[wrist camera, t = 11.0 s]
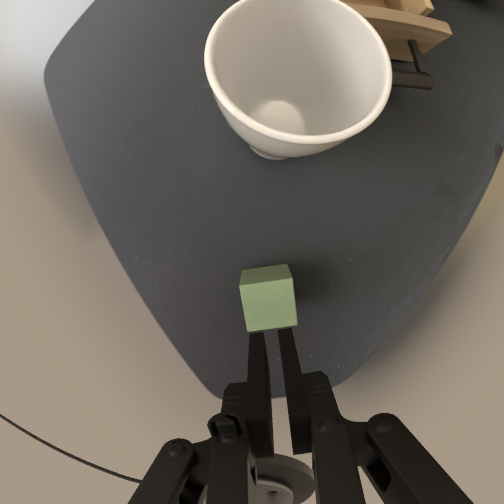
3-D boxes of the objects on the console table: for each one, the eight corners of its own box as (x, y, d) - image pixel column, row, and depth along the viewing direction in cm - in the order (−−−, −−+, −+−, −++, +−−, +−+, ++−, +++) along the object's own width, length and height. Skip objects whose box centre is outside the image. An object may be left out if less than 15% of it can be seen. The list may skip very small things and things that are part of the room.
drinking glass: (225, 105, 22) (182, 8, 7) (302, 85, 21) (353, -19, 6) (248, 178, 23) (232, 171, 9) (325, 158, 23) (420, 128, 8)
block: (248, 310, 26) (247, 332, 22) (241, 269, 25) (239, 285, 21) (292, 304, 26) (297, 325, 22) (287, 263, 25) (292, 277, 21)
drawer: (423, 103, 20) (470, 85, 13) (322, 101, 21) (347, 71, 13) (372, -32, 16) (394, -67, 9) (281, -39, 16) (286, -83, 9)
